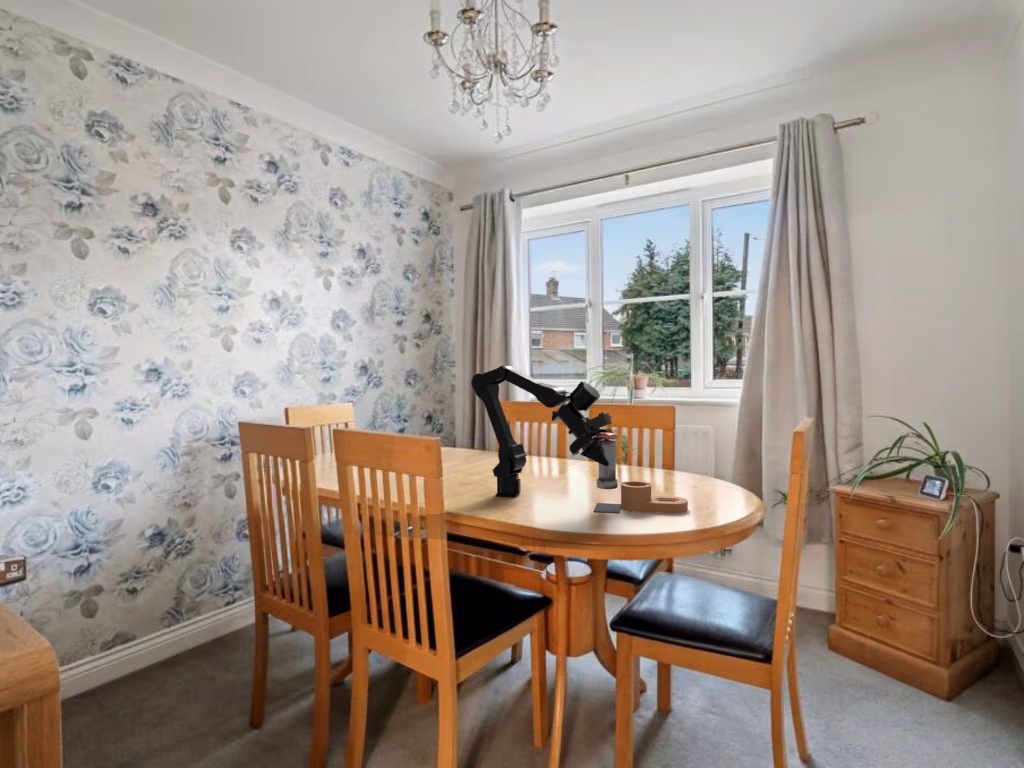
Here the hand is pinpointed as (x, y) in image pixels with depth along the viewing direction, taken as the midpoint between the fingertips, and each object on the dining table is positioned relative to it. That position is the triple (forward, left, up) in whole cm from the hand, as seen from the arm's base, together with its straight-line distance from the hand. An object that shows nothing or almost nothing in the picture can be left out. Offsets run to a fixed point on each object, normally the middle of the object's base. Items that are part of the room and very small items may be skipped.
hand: (611, 463), depth 156 cm
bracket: (+11, +3, -13) cm, 18 cm away
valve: (-1, 0, -7) cm, 7 cm away
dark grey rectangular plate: (-1, +1, -13) cm, 13 cm away
